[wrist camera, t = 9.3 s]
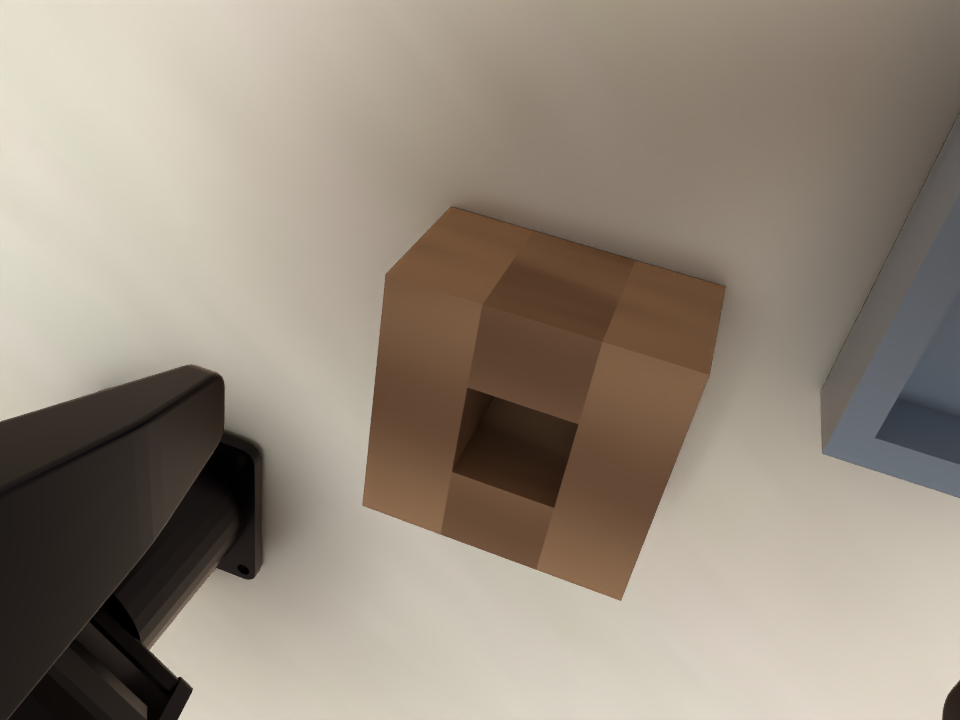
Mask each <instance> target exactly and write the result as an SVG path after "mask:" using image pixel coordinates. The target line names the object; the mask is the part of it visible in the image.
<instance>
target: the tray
mask: <svg viewBox="0 0 960 720" xmlns="http://www.w3.org/2000/svg"><path fill="white" fill-rule="evenodd" d="M821 433H822V454H825V455H828V456H831V457H834V458H837V459H840V460H843V461H846V462H850V463H853V464H856V465H859V466H862V467H865V468H868V469H871V470H874V471H878V472H881V473H884V474H887V475H890V476H893V477H896V478H899V479H903V480H906V481H909V482H912V483H915V484H918V485H921V486H924V487H927V488H931V489H934V490H937V491H940V492H943V493H946V494H949V495H952V496H955V497H959V498H960V113H959V115H958V117H957V119H956V121H955V123H954V125H953V127H952V129H951V131H950V133H949V135H948V137H947V139H946V141H945V143H944V145H943V147H942V149H941V151H940V153H939V155H938V157H937V159H936V161H935V163H934V165H933V167H932V169H931V171H930V173H929V175H928V177H927V179H926V181H925V183H924V185H923V187H922V189H921V191H920V193H919V195H918V197H917V199H916V201H915V203H914V205H913V207H912V209H911V211H910V213H909V215H908V217H907V219H906V221H905V223H904V225H903V227H902V229H901V231H900V233H899V235H898V237H897V239H896V241H895V243H894V245H893V247H892V249H891V252H890V254H889V256H888V258H887V260H886V262H885V264H884V266H883V268H882V270H881V272H880V274H879V276H878V278H877V280H876V282H875V284H874V286H873V288H872V290H871V292H870V294H869V296H868V298H867V300H866V302H865V304H864V306H863V308H862V310H861V312H860V314H859V316H858V318H857V320H856V322H855V324H854V326H853V328H852V330H851V332H850V334H849V336H848V338H847V340H846V342H845V344H844V346H843V348H842V350H841V352H840V354H839V356H838V358H837V360H836V362H835V364H834V366H833V368H832V370H831V372H830V374H829V376H828V378H827V380H826V382H825V384H824V386H823V388H822V390H821Z"/></svg>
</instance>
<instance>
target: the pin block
mask: <svg viewBox="0 0 960 720" xmlns="http://www.w3.org/2000/svg"><path fill="white" fill-rule="evenodd" d="M724 292H725V286H721V285H718V284H714V283H711V282H708V281H704V280H701V279H697V278H694V277H690V276H687V275H683V274H680V273H677V272H673V271H670V270H666V269H663V268H659V267H656V266H653V265H649V264H646V263H642V262H639V261H635V260H632V259H629V258H625V257H622V256H618V255H615V254H611V253H608V252H605V251H601V250H598V249H594V248H591V247H587V246H584V245H581V244H577V243H574V242H570V241H567V240H563V239H560V238H557V237H553V236H550V235H546V234H543V233H539V232H536V231H533V230H529V229H526V228H522V227H519V226H515V225H512V224H509V223H505V222H502V221H498V220H495V219H491V218H488V217H485V216H481V215H478V214H474V213H471V212H467V211H464V210H461V209H457V208H454V207H450V208H449V209H448V210H447V211H446V212H445V213H444V214H443V215H442V216H441V217H440V218H439V219H438V220H437V222H436V223H435V224H434V225H433V226H432V227H431V228H430V229H429V230H428V231H427V232H426V233H425V234H424V235H423V236H422V237H421V238H420V239H419V240H418V241H417V242H416V243H415V244H414V245H413V246H412V247H411V249H410V250H409V251H408V252H407V253H406V254H405V255H404V256H403V257H402V258H401V259H400V260H399V261H398V262H397V263H396V264H395V265H394V266H393V267H392V268H391V269H390V270H389V271H388V272H387V273H386V278H385V288H384V297H383V307H382V317H381V327H380V337H379V347H378V357H377V367H376V377H375V386H374V396H373V406H372V416H371V426H370V436H369V446H368V456H367V466H366V475H365V485H364V495H363V505H362V506H365V507H368V508H370V509H373V510H376V511H379V512H381V513H384V514H387V515H389V516H392V517H395V518H398V519H400V520H403V521H406V522H408V523H411V524H414V525H417V526H419V527H422V528H425V529H427V530H430V531H433V532H436V533H438V534H441V535H444V536H446V537H449V538H452V539H455V540H457V541H460V542H463V543H465V544H468V545H471V546H474V547H476V548H479V549H482V550H484V551H487V552H490V553H493V554H495V555H498V556H501V557H503V558H506V559H509V560H512V561H514V562H517V563H520V564H522V565H525V566H528V567H530V568H533V569H536V570H539V571H541V572H544V573H547V574H549V575H552V576H555V577H558V578H560V579H563V580H566V581H568V582H571V583H574V584H577V585H579V586H582V587H585V588H587V589H590V590H593V591H596V592H598V593H601V594H604V595H606V596H609V597H612V598H615V599H617V600H620V601H621V599H622V597H623V594H624V592H625V589H626V587H627V584H628V581H629V579H630V576H631V574H632V571H633V569H634V566H635V564H636V561H637V559H638V556H639V553H640V551H641V548H642V546H643V543H644V541H645V538H646V536H647V533H648V531H649V528H650V525H651V523H652V520H653V518H654V515H655V513H656V510H657V508H658V505H659V502H660V500H661V497H662V495H663V492H664V490H665V487H666V485H667V482H668V480H669V477H670V474H671V472H672V469H673V467H674V464H675V462H676V459H677V457H678V454H679V452H680V449H681V446H682V444H683V441H684V439H685V436H686V434H687V431H688V429H689V426H690V424H691V421H692V418H693V416H694V413H695V411H696V408H697V406H698V403H699V401H700V398H701V396H702V393H703V390H704V388H705V385H706V383H707V380H708V378H709V375H710V370H711V364H712V359H713V353H714V348H715V342H716V337H717V331H718V326H719V320H720V314H721V309H722V303H723V298H724Z"/></svg>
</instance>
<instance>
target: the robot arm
mask: <svg viewBox="0 0 960 720" xmlns="http://www.w3.org/2000/svg"><path fill="white" fill-rule="evenodd" d="M224 399H225V385H224V380H223V378H222V376H221V375H220V374H218V373H217V372H214V371H211V370H208V369H205V368H202V367H200V366H197V365H186V366H182V367H179V368H175V369H172V370H169V371H165V372H162V373H159V374H156V375H152V376H149V377H146V378H142V379H139V380H136V381H132V382H129V383H126V384H123V385H119V386H116V387H113V388H109V389H106V390H101V391H98V392H96V393H93V394H90V395H86V396H83V397H80V398H76V399H73V400H70V401H67V402H63V403H60V404H57V405H53V406H50V407H47V408H44V409H40V410H37V411H34V412H30V413H27V414H24V415H20V416H17V417H14V418H11V419H7V420H4V421H1V422H0V720H178V718H179V716H180V714H181V712H182V710H183V708H184V706H185V704H186V702H187V700H188V699H189V697H190V695H191V693H192V690H193V688H192V687H191V686H190V685H189V684H188V683H187V682H186V681H185V680H184V679H183V678H182V677H178V678H177V677H176V676H175V675H174V674H173V673H172V672H171V671H170V670H169V669H168V668H167V667H166V666H165V665H164V664H163V663H162V662H161V661H160V660H159V659H158V658H156V657H155V656H154V655H153V654H152V653H151V652H150V651H149V650H150V648H151V647H152V646H153V645H154V643H155V642H156V641H157V640H158V639H159V637H160V636H161V635H162V634H163V632H164V631H165V630H166V629H167V627H168V626H169V625H170V624H171V622H172V621H173V620H174V619H175V618H176V616H177V615H178V614H179V613H180V611H181V610H182V609H183V608H184V606H185V605H186V604H187V603H188V601H189V600H190V599H191V598H192V597H193V595H194V594H195V593H196V592H197V590H198V589H199V588H200V587H201V585H202V584H203V583H204V582H205V580H206V579H207V578H208V577H209V576H210V574H211V573H212V572H213V571H214V569H215V568H218V569H221V570H223V571H226V572H229V573H231V574H234V575H236V576H239V577H241V578H244V579H248V580H249V579H253V578H254V577H255V576H256V575H257V573H258V572H259V570H260V568H261V455H260V453H259V451H258V450H257V448H256V447H254V446H253V445H252V444H250V443H248V442H245V441H243V440H240V439H237V438H234V437H232V436H229V435H226V434H223V430H224ZM942 720H960V680H959V682H958V683H957V684H956V685H955V686H954V687H953V689H952V690H951V691H950V693H949V694H948V696H947V698H946V701H945V704H944V708H943V715H942Z"/></svg>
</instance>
